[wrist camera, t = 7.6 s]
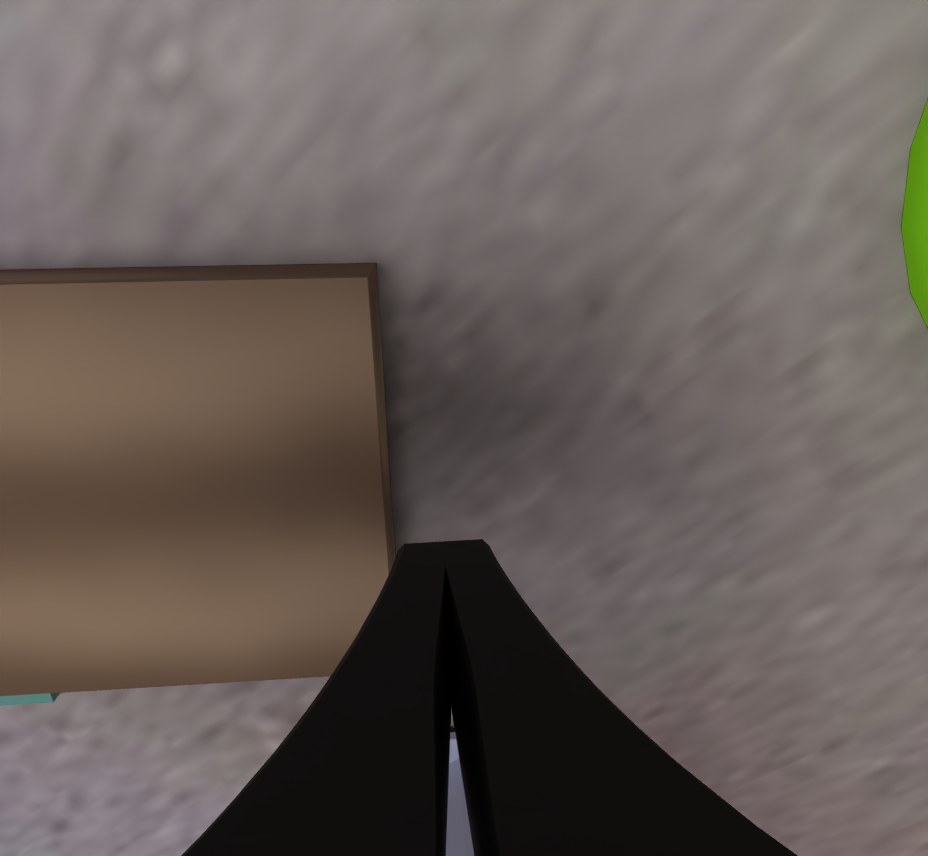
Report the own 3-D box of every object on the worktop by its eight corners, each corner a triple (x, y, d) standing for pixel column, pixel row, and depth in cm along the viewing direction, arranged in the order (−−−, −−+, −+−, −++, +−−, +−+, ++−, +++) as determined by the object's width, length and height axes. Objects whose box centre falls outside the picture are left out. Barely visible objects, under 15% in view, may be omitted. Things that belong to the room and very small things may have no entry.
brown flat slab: (398, 608, 21) (395, 672, 18) (51, 627, 20) (-9, 696, 17) (376, 262, 16) (367, 277, 14) (-75, 271, 16) (-181, 287, 13)
